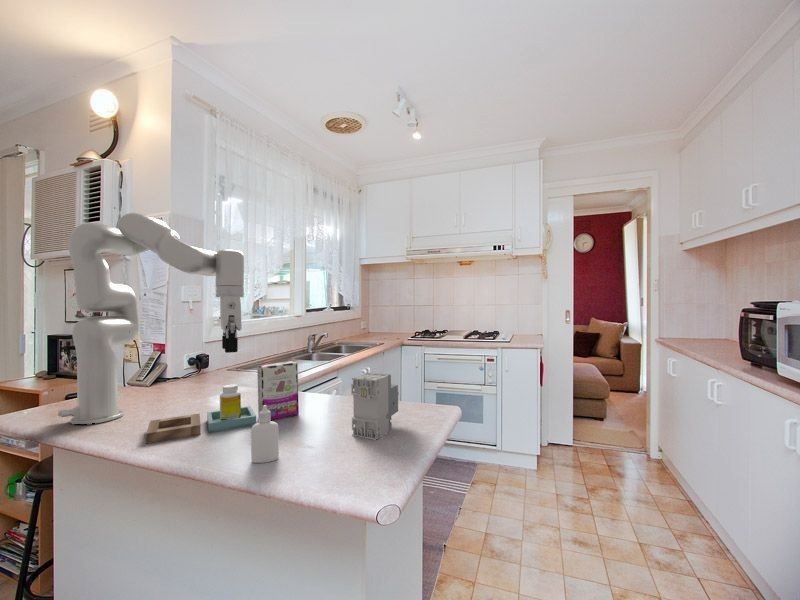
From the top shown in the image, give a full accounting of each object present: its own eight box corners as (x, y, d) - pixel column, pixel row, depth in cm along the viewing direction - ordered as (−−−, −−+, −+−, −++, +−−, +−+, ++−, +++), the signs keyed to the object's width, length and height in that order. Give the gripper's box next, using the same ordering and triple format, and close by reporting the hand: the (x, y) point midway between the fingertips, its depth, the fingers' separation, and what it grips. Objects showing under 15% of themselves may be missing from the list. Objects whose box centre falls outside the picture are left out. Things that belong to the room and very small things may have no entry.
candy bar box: (292, 411, 115) (292, 360, 115) (299, 415, 111) (298, 362, 112) (257, 418, 108) (256, 364, 108) (262, 423, 104) (261, 366, 105)
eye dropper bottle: (260, 454, 82) (259, 402, 82) (282, 456, 81) (281, 403, 81) (247, 462, 78) (247, 407, 78) (270, 465, 77) (270, 409, 77)
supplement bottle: (243, 420, 105) (242, 385, 105) (222, 425, 101) (222, 388, 101) (237, 416, 109) (237, 382, 109) (217, 420, 105) (217, 385, 106)
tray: (209, 432, 97) (209, 423, 97) (207, 420, 107) (207, 412, 107) (256, 424, 103) (256, 416, 103) (250, 413, 113) (250, 406, 113)
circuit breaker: (400, 422, 103) (400, 370, 103) (377, 440, 90) (376, 380, 90) (378, 419, 106) (377, 368, 106) (352, 435, 93) (351, 378, 93)
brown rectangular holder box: (145, 443, 90) (145, 433, 90) (150, 429, 100) (150, 420, 100) (200, 434, 96) (200, 424, 96) (199, 421, 106) (199, 413, 106)
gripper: (247, 291, 100) (247, 353, 100) (240, 293, 115) (240, 346, 115) (217, 291, 96) (217, 355, 96) (213, 292, 111) (213, 348, 111)
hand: (229, 350), depth 105 cm, fingers open, 9 cm apart
